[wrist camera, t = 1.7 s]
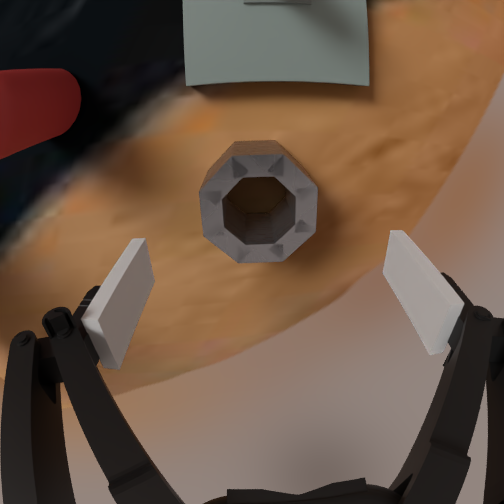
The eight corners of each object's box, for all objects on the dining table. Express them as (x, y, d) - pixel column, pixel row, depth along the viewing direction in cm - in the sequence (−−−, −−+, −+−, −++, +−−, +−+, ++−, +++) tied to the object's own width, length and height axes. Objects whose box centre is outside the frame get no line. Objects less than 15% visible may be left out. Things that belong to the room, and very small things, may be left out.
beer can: (97, 89, 22) (9, 100, 11) (62, 148, 24) (-22, 192, 14) (50, 57, 20) (-41, 59, 9) (20, 115, 22) (-67, 144, 12)
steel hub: (213, 230, 29) (206, 264, 23) (206, 143, 25) (195, 158, 20) (301, 226, 29) (313, 260, 23) (302, 140, 25) (319, 154, 20)
